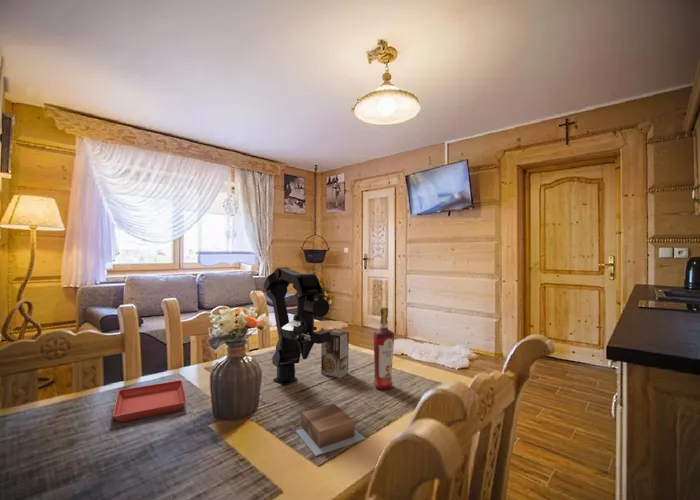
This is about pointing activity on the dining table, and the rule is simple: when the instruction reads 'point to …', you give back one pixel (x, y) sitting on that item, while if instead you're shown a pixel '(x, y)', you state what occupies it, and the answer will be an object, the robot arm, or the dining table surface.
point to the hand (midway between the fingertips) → (304, 358)
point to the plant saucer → (149, 400)
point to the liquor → (383, 353)
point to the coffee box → (335, 354)
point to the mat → (319, 451)
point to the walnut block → (327, 425)
